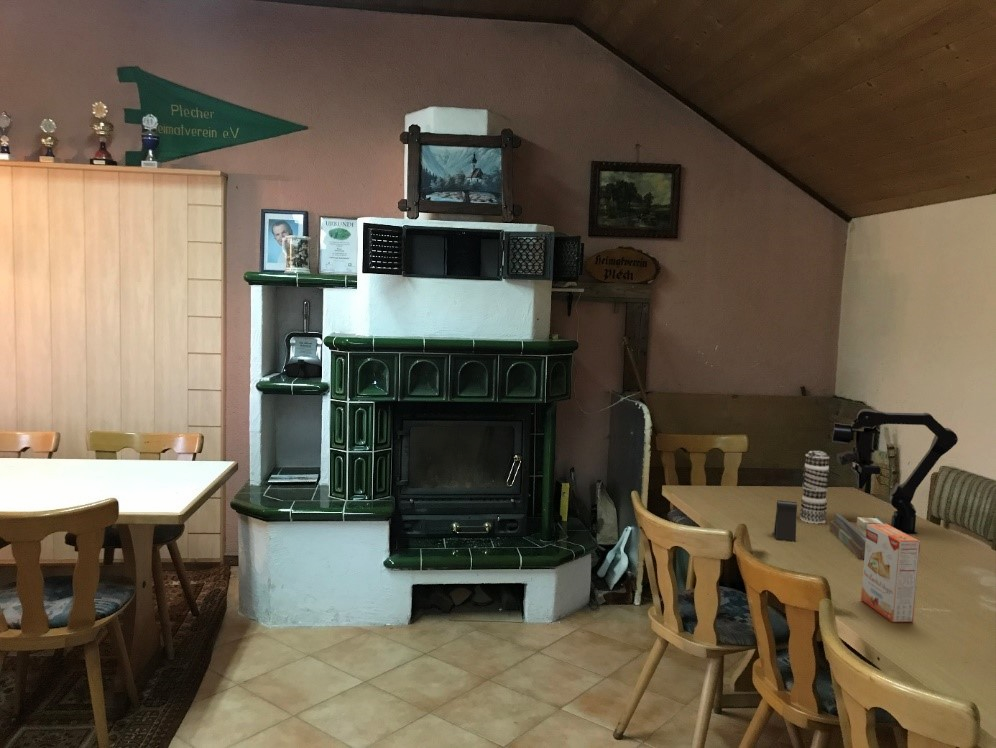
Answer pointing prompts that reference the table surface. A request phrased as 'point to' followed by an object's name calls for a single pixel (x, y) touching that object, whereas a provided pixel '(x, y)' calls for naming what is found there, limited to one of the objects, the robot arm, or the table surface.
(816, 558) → the table surface
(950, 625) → the table surface
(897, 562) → the cracker box
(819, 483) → the decorative candle
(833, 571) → the table surface
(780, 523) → the phone stand
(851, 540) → the channel board
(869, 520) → the cream block
